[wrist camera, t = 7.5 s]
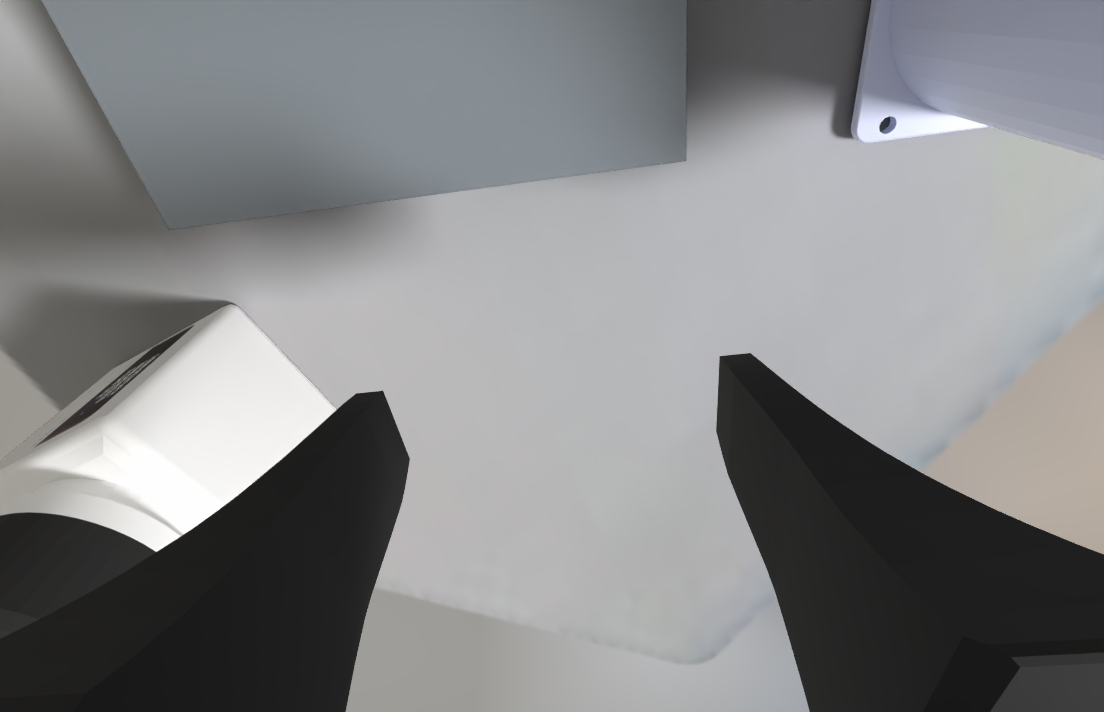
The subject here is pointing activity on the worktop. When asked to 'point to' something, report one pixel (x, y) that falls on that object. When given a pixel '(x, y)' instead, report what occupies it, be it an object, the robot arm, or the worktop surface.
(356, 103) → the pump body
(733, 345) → the worktop surface
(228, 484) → the container
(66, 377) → the worktop surface
